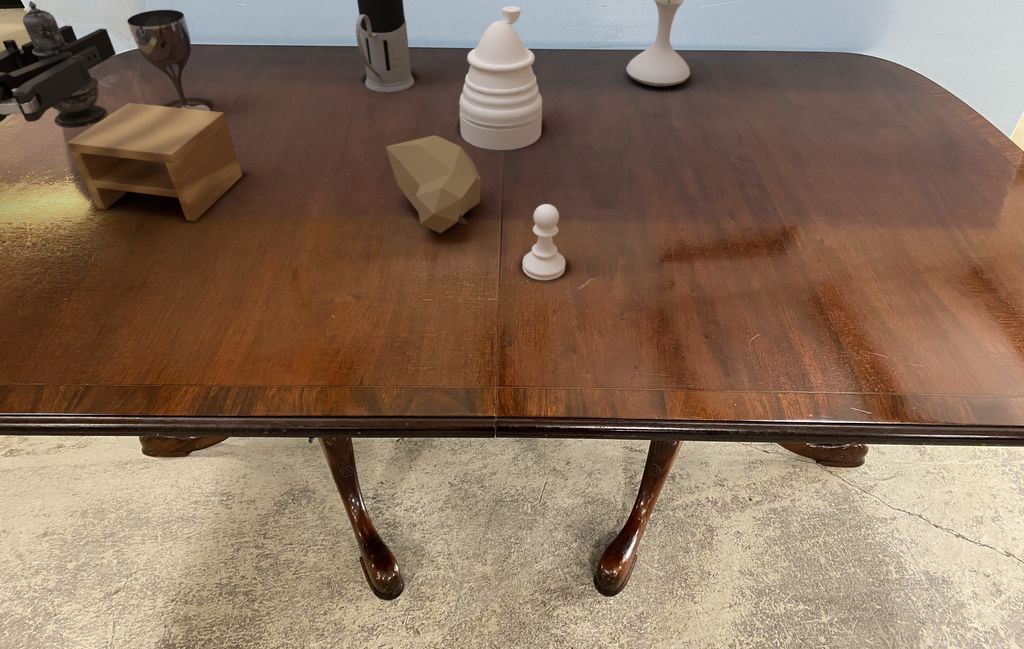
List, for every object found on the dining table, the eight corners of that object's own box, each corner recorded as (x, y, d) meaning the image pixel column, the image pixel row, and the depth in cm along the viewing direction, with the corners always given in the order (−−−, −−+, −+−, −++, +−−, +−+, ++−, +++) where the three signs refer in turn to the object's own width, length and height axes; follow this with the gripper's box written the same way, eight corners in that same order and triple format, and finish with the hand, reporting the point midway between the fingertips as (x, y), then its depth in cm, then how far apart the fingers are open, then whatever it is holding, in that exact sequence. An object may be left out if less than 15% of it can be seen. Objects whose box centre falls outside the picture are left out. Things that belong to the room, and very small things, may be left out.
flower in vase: (636, 64, 128) (656, -87, 111) (695, 74, 124) (724, -80, 107) (613, 88, 119) (631, -72, 102) (676, 100, 115) (704, -64, 99)
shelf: (99, 213, 87) (66, 142, 81) (154, 169, 96) (128, 102, 89) (196, 226, 85) (170, 154, 79) (243, 180, 94) (223, 112, 87)
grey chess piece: (55, 133, 71) (-3, 14, 63) (48, 113, 74) (-7, -2, 66) (115, 120, 73) (67, 4, 65) (106, 101, 77) (60, -11, 69)
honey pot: (509, 107, 113) (510, -8, 101) (557, 135, 105) (564, 14, 93) (445, 127, 107) (437, 8, 95) (491, 158, 99) (489, 32, 87)
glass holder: (421, 75, 123) (413, -13, 113) (392, 107, 112) (380, 13, 102) (376, 71, 124) (365, -17, 114) (344, 101, 114) (328, 8, 104)
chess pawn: (537, 254, 81) (540, 189, 75) (572, 269, 79) (578, 203, 73) (513, 275, 78) (514, 209, 72) (549, 291, 76) (553, 224, 70)
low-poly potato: (418, 186, 94) (353, 179, 84) (456, 120, 89) (392, 105, 79) (480, 257, 88) (418, 258, 79) (525, 191, 83) (464, 184, 74)
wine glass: (173, 102, 113) (141, 9, 103) (220, 103, 113) (192, 10, 103) (153, 123, 107) (117, 26, 97) (201, 124, 107) (170, 27, 97)
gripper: (-149, 163, 60) (41, 67, 77) (10, 184, 57) (170, 80, 75) (-209, 80, 55) (8, -2, 72) (-37, 99, 52) (146, 9, 70)
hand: (90, 40), depth 73 cm, fingers closed on grey chess piece, 4 cm apart
